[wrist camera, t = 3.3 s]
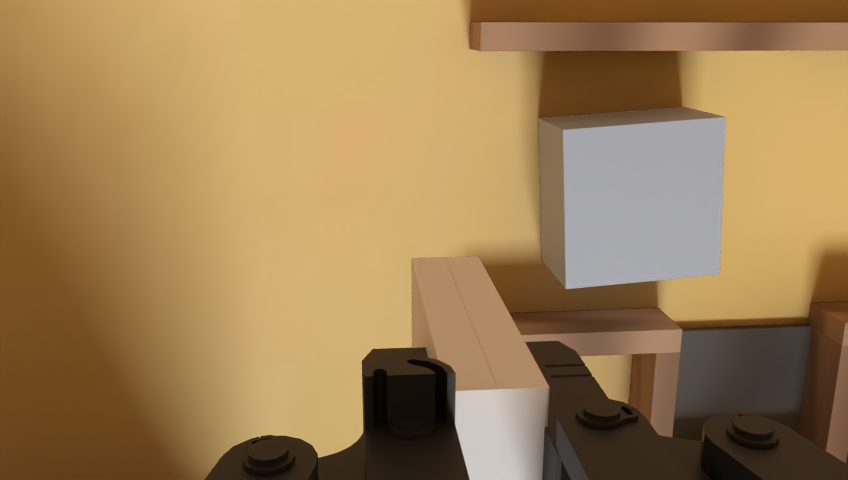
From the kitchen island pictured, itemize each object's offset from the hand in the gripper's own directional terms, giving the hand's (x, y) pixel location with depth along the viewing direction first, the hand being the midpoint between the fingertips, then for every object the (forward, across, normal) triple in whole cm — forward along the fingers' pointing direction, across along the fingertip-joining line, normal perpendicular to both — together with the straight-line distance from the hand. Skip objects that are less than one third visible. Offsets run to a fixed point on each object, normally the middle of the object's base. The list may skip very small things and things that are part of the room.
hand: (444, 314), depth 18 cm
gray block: (+15, +9, 0) cm, 17 cm away
